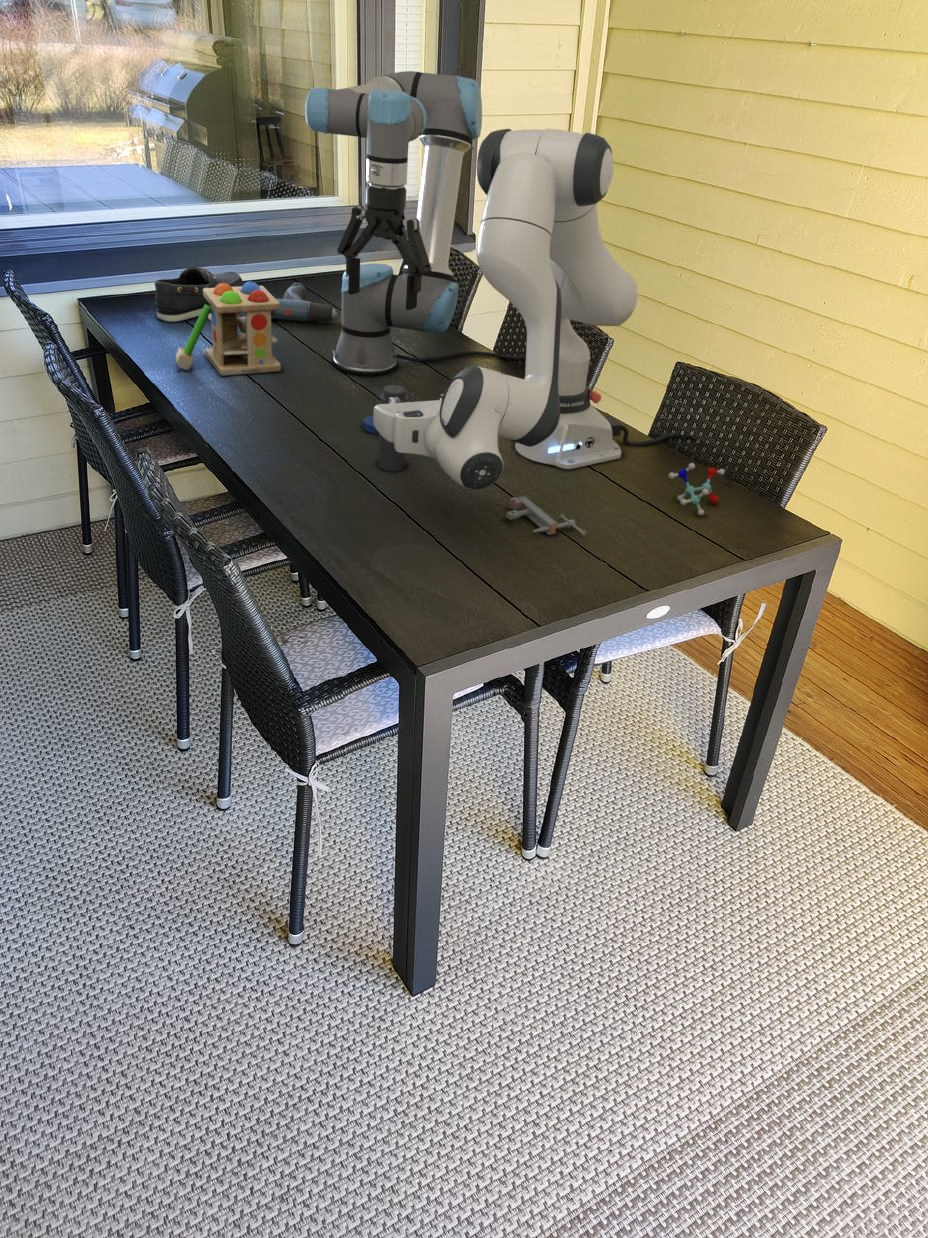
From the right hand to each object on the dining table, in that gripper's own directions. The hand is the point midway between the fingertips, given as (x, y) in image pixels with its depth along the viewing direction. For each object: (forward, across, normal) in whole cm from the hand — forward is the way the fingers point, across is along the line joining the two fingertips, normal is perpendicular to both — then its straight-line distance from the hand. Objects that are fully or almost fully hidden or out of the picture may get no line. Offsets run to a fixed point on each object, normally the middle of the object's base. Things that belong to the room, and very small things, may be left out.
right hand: (418, 399), depth 173 cm
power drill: (+108, -7, +19) cm, 110 cm away
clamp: (-16, -19, +19) cm, 31 cm away
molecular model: (-16, -52, +19) cm, 57 cm away
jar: (+13, 0, +19) cm, 23 cm away
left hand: (+31, -3, -8) cm, 32 cm away
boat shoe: (+117, +20, +19) cm, 120 cm away
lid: (+31, -3, +18) cm, 35 cm away
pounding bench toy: (+72, +22, +19) cm, 77 cm away
